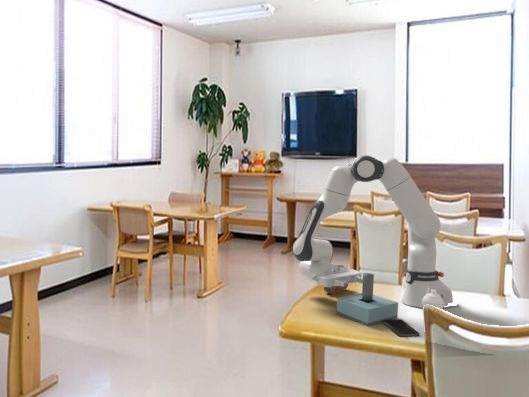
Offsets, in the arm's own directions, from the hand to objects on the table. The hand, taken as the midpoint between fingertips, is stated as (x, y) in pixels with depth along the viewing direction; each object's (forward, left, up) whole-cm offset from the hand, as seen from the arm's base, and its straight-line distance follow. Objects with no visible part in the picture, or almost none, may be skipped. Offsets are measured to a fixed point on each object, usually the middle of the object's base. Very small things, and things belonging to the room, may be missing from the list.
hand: (353, 282), depth 194 cm
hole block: (-3, +7, -11) cm, 13 cm away
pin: (-3, +7, -10) cm, 12 cm away
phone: (-9, +22, -12) cm, 26 cm away
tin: (-3, -27, -11) cm, 29 cm away
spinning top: (-24, +17, -11) cm, 32 cm away
